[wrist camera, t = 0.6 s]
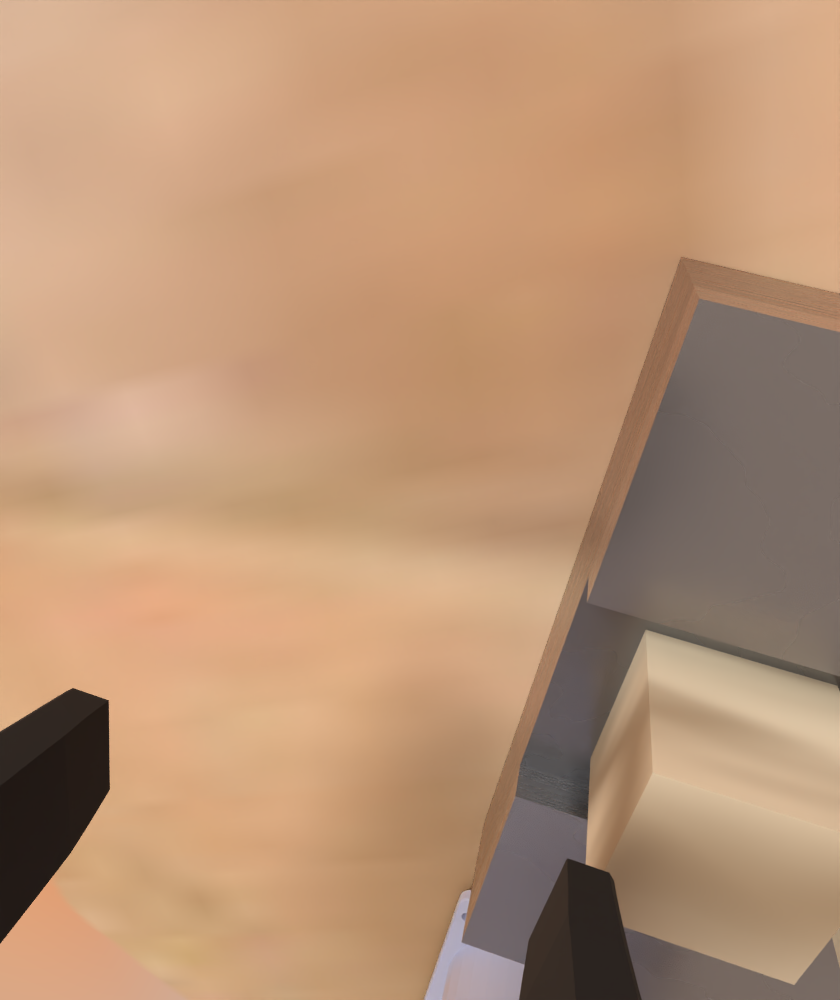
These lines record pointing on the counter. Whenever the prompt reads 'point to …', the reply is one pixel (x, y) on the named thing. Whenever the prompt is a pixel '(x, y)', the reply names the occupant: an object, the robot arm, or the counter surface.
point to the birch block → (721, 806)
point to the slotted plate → (683, 586)
